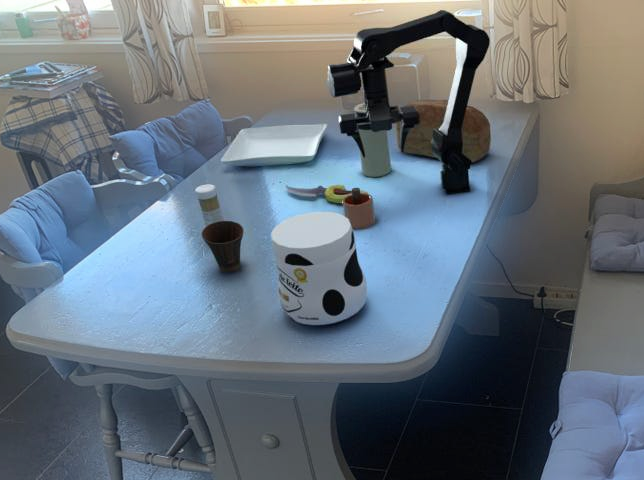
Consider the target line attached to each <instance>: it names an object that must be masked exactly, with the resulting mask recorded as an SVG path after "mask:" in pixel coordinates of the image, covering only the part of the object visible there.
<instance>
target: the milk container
mask: <svg viewBox="0 0 644 480" xmlns="http://www.w3.org/2000/svg"><path fill="white" fill-rule="evenodd" d="M270 239H271V246H272V252H273V258H274V262H275V266H276V269H277V273H278V285H277V286H278V287H277V291H278V293H277V294H278V299H279V302H280V306H281V308H282V309H283V312H284V314H285V315H286V316H287V317H288V318H289V319H290V320H291V321H293V322H294V323H297V324H300V325H303V326H309V327H318V328H319V327H324V326H325V327H326V326H334V325H336V324H339V323H342V322H346V321H347V320H349V319H351V318H352V317H354V316H355V315H357V314H358V313H359V312H360V311H361V310H362V309H363V307H365V306H364V305H365V303H366V301H367V295H368V286H367V279H366V277H365V274H364V272H363V269H362V268H361V265H360V263H359V259H358V252H357V243H356V240H355V239H356V238H355V234H354V229H353V228H352V227H351V224H350V222H349V219H347V218H346V217H345V215H344V214H341V213H336V212H334V211H333V212H332V211H312V212H311V211H310V212H305V213H301V214H297V215H293V216H291V217H289V218H286V219H283V220H282V221H281V222H280V223H278V224H277V225H275V226H274V227H273V229H272V231H271V233H270Z"/></svg>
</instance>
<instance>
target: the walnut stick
mask: <svg viewBox="0 0 644 480" xmlns="http://www.w3.org/2000/svg"><path fill="white" fill-rule="evenodd" d="M351 191H352V197H353V203H354V205H359V204H362V200H361V193H360V191H361V188H360V187H352V188H351Z"/></svg>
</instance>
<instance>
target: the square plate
mask: <svg viewBox="0 0 644 480" xmlns="http://www.w3.org/2000/svg"><path fill="white" fill-rule="evenodd" d="M328 127H329V125H328V124H327V123H319V124H317V123H316V124H292V125H289V124H288V125H287V124H286V125H272V126H271V125H270V126H262V127H251V128H242V129H241V130H240V131H239V132H238V134H237V135H236V137H235V138H234V140H233V141H232V142H231V144H230V145H229V147H228V149H227V150H226V152H225V153H224V154H223V156H222V157H221V159H220V162H221V163H222V164H225V165H226V166H230V167H231V166H232V167H242V166H243V167H263V166H265V167H266V166H279V165H280V166H281V165H296V164H301V163H305V162H306V163H307V162H310V161H313V159H314V158H315V156H316V155H317V152H318V149H319V146H320V143H321V141H322V139H323V137H324V135H325V133H326V131H327V129H328Z"/></svg>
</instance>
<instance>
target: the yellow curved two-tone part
mask: <svg viewBox="0 0 644 480" xmlns="http://www.w3.org/2000/svg"><path fill="white" fill-rule="evenodd" d="M284 188H285V189H286V190H287V191H288V192H289V193H291V194H294V195H297V196H302V197H317V195H321V194H322V195H323V194H324V196H325V199H326V200H327V201H328V202H330V203H335V204H336V203H337V204H343V203H342V200H343V198H345V197H346V196H348V195H351V194H352V190H347V188H346V187H345V185H343V184H336V185H331V186H328V187H324V186H322V185H318V186H316V187H312V188H302V187H292V186H289V185H288V184H285V187H284ZM360 193H366V194H369V193H368V192H367V191H365V190H363V189H360Z"/></svg>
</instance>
